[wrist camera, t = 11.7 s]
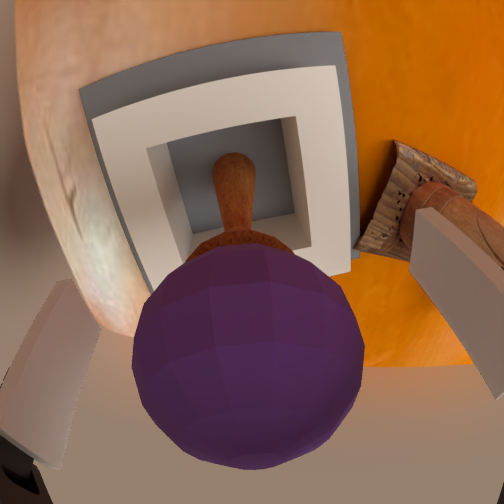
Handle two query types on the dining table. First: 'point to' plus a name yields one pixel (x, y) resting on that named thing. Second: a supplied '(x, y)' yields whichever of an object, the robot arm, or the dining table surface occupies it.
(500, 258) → the bird sculpture
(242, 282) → the kendama
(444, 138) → the dining table surface
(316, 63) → the socket
